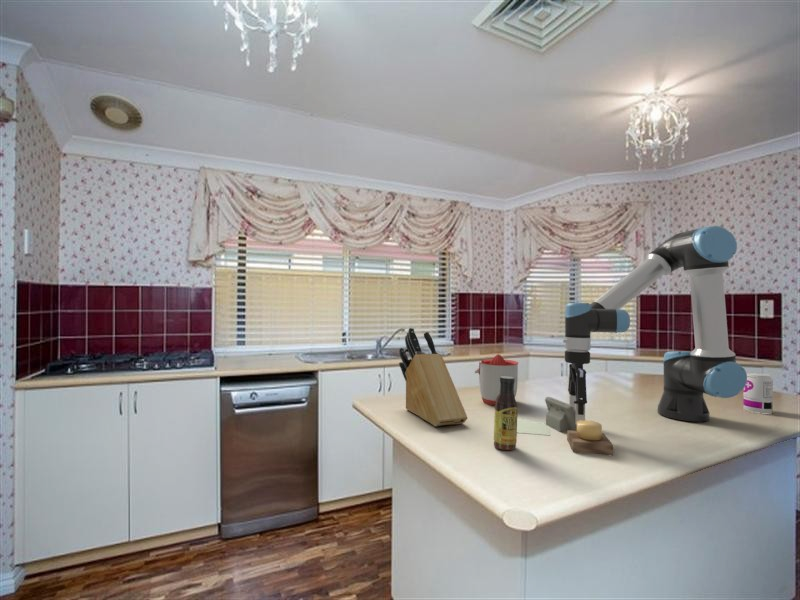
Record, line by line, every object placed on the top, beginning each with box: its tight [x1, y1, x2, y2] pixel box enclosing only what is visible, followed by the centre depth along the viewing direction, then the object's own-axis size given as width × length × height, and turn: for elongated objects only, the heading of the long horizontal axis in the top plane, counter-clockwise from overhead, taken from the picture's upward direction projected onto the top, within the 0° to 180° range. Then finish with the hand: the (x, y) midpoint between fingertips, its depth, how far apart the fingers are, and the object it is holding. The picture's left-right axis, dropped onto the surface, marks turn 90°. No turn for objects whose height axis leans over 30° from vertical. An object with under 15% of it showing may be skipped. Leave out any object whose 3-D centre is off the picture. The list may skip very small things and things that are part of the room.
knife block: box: [398, 327, 468, 427], centre depth 146 cm, size 11×35×31 cm, turn 23°
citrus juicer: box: [474, 353, 519, 407], centre depth 162 cm, size 16×17×20 cm
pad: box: [517, 417, 551, 437], centre depth 133 cm, size 13×17×1 cm
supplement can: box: [742, 372, 774, 413], centre depth 149 cm, size 8×8×15 cm
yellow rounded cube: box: [577, 419, 603, 440], centre depth 113 cm, size 6×6×6 cm
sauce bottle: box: [493, 376, 518, 451], centre depth 113 cm, size 7×6×20 cm
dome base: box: [566, 430, 614, 457], centre depth 113 cm, size 10×10×3 cm
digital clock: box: [544, 396, 577, 433], centre depth 131 cm, size 14×8×9 cm, turn 2°
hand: (576, 419), depth 129 cm, fingers open, 10 cm apart
